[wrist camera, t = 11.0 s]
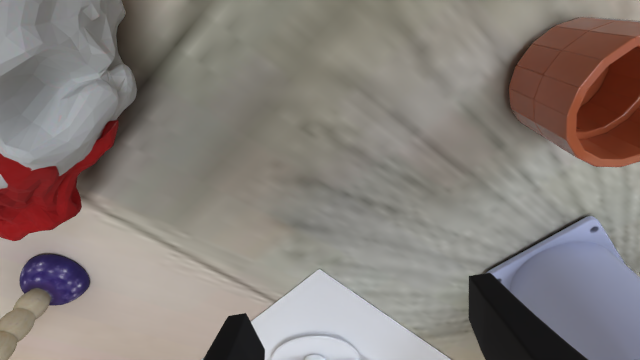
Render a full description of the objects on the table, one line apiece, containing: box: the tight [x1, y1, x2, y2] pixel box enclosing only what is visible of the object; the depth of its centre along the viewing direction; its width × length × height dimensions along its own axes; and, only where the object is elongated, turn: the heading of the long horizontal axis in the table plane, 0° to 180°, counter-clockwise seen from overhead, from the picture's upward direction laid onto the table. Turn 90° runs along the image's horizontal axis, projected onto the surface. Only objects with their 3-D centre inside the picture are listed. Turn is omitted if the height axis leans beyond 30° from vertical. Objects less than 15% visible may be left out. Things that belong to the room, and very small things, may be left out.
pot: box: [509, 17, 640, 167], centre depth 15 cm, size 6×6×5 cm
